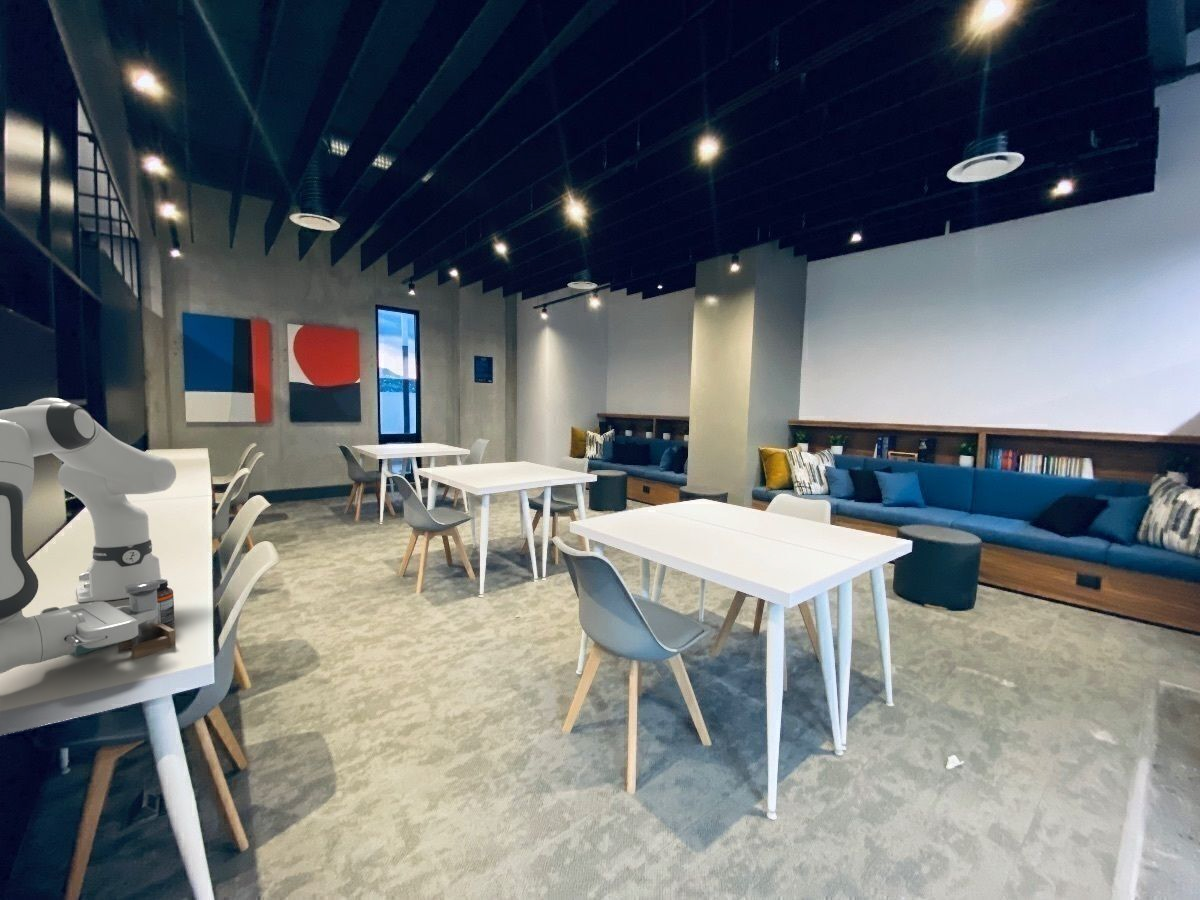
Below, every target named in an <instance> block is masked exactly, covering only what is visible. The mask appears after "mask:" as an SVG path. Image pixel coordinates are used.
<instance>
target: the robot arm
mask: <svg viewBox="0 0 1200 900" xmlns="http://www.w3.org/2000/svg"><path fill="white" fill-rule="evenodd" d="M48 454H52V455H54V456H55V457H56V458H57V459H59V460H60V461H61V462H63V464H61V466H60V468H59V470H58V473H57V474H58V475H57V478H58V483H59V484H60V486H61V487H62V488H63V489H64V490H65V491H66V492H67V493H71V494H72V495H74V496H75V497H76V498H77V499H78V500H79V501H81V503H82V504H83V505H84V506H85V508H86V509H87V511H88V512H89V514H90V517H91V520H92V527H93V533H94V546H93V548H92V559H93V561H92V562H91V563H90V564H89V566H88V567H87V569H86V572H83V573H79V574H78V578H79V579H78V581H79V583H83V582H84V583H83V584H82V585H78V586H76V587H75V588H76V589H75V591H76V597H77V601H78V603H79V604H72V605H67V606H64V607H63V606H62V607H60V608H59V607H58V606H52V607H47V608H44V609H42V610H40V611H41V612H40V613H39V614H37V615H32V616H24V615H23V609H24V608H26V607H27V606H28V605H29V604H30V603H31V602H32V601H33V600H34V598H35V597H36V595H37V593H38V591H39V579H38V576H37V574H36V572H35V571H34V569H33V568H32V566H31V565H30V564H29V562H28V561H27V559H26V557H25V553H24V542H23V541H24V537H23V535H24V527H23V526H24V525H23V523H24V519H23V518H24V512H25V509H26V507H27V505H28V503H29V500H30V498H31V494H32V491H33V488H34V487H33V485H34V481H35V480H34V479H35V457H39V456H43V455H48ZM176 478H177V470H176V467H175V465H174V463H173V462H172V461H171V460H170V459H169V458H165V457H162V456H159V455H153V454H151V453H148V452H146V451H143V450H141V449H139V448H136V447H134V446H132V445H130V444H127V443H125V442H123V441H121V440H120V439H118V438H116V437H115V436H113V435H112V434H111V433H110V432H109V431H108V430H107V429H105V428H104V427H103V426H102V425H101V424H100V423H98V422H97V421H96V420H95V419H94V418H93V417H92V415H91V413H89V411H88V410H86V409H85V408H83V407H81V406H80V405H78V404H74V403H71V402H69V401H67V400H64V399H62V398H57V397H43V398H40V399H36V400H34V401H32V402H30V403H28V404H27V405H25V406H15V407H13V408H8V409H1V410H0V675H1V674H4V673H6V672H9V671H10V670H11V671H12V670H13V669H15V668H17V667H21V666H25V665H35V664H39V663H42V662H46V661H51V660H54V659H56V658H60V657H64V656H67V655H71V654H74V652H75V650H76V647H77V646H79V645H82V646H83V647H85V648H97V647H102V646H106V645H110V644H114V643H118V642H122V641H126V640H130V639H132V638H134V637H136V636H137V635H138V625H139V624H141V623H143V622H145V621H147V620H150V619H154V618H155V617H156V611H155V610H153V609H149V610H145V611H143V612H142V613H139V614H136V615H134V614H133V615H130V605H120V606H113V605H111V604H109V603H108V602H106V601H113V600H114V601H115V600H121V599H128V598H129V593H126V589H125V587H126V586H128V585H130V584H133V583H137V582H142V581H154V580H167V581H168V579H166V578H162V575H161V568H160V566H161V565H160V559H159V557H158V556H156V555H154V554H153V553H152V552H153V543H152V540H151V539H150V528H149V515H148V514H147V512H146V511H145V510H144V509H142V508H140V507H137V506H135V505H134V504H132V503H131V502H130V501H129V500H128V498H127V496H126V495H148V494H154V493H159V492H164V491H167V490H168V489H170V488H171V487H172V486H173V484H174V482H175V481H176ZM85 582H86V583H85ZM118 644H119V643H118ZM114 645H115V644H114Z"/></svg>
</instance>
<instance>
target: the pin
mask: <svg viewBox="0 0 1200 900" xmlns="http://www.w3.org/2000/svg"><path fill="white" fill-rule="evenodd" d="M159 587H160V584H159V581H142V582H137V583H133V584H130V585H128V586H126V587H125V589H126V593H129V597H128V598H129V606H130V615H133V614H134V615H136V614H139V613H142V612H143V611H145V610H149V609H153V610H155V611H156V617H155V618H154V619H150V620H147V621H145V622H143V623H141V624H139V625H138V635H137V636H136V637H134V638H132V639H131V641H132V645H136V644H140V643H143V642H146V641H150V640H153V639H157V638H159V627H158V606H157V588H159Z"/></svg>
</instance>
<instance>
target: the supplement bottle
mask: <svg viewBox="0 0 1200 900" xmlns="http://www.w3.org/2000/svg"><path fill="white" fill-rule="evenodd" d="M154 581H159V584H160V587H159V588H157V606H158V622H160V623H162V624H164V625H166V626H168V627H170V628H172V627H173V626H174V625H175V604H174V603H175V601H174V590H173V589H172V588H171V587H168V586H169V584H168V583H169V582H168V579H167V580H154Z"/></svg>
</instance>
